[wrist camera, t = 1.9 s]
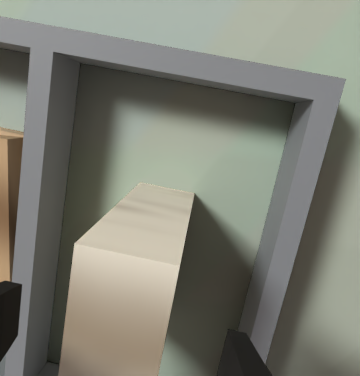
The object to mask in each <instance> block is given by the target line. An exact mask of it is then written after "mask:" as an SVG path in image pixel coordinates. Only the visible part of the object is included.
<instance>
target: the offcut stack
mask: <svg viewBox="0 0 360 376" xmlns="http://www.w3.org/2000/svg"><path fill="white" fill-rule="evenodd" d="M23 136H24V132H20V131H16V130H11V129H6V128H2V127H0V282H2V281H10V282H12V273H13V261H14V248H15V236H16V223H17V211H18V198H19V186H20V173H21V161H22V148H23Z"/></svg>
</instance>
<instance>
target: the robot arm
mask: <svg viewBox="0 0 360 376" xmlns="http://www.w3.org/2000/svg"><path fill="white" fill-rule="evenodd" d="M21 294H22V284H19V283H14V282H10V281H2V282H0V362H1V360H2V359H3V357H4V356H5V355H6V353H7V352H8V350H9V349H10V347H11V346H12V344H13V342H14V341H15V339H16V338H17V336H18V329H19V317H20V306H21ZM217 376H272V374H271V373H270V371H269V370H268V368H267V366H266V365H265V363H264V362H263V360H262V358H261V357H260V355H259V353H258V352H257V350H256V348H255V347H254V345H253V343H252V342H251V340H250V338H249V337H248V335H247V333H244V332H240V331H235V330H230V329H228V332H227V336H226V340H225V344H224V348H223V352H222V356H221V360H220V364H219V368H218V372H217Z"/></svg>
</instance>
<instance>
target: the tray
mask: <svg viewBox="0 0 360 376" xmlns="http://www.w3.org/2000/svg"><path fill="white" fill-rule="evenodd" d="M0 48H3V49H8V50H14V51H19V52H24V53H30V61H29V73H28V86H27V98H26V111H25V123H24V136H23V148H22V161H21V173H20V186H19V198H18V211H17V223H16V236H15V248H14V261H13V273H12V282H14V283H19V284H22V294H21V306H20V317H19V329H18V336H17V338H16V339H15V341H14V342H13V344H12V346H11V347H10V349H9V350H8V352H7V353H6V355H5V356H4V357H3V359H2V360H1V362H0V376H58V373H59V364H55V363H50V362H47V355H48V346H49V338H50V329H51V320H52V311H53V302H54V293H55V284H56V275H57V266H58V257H59V248H60V239H61V231H62V222H63V213H64V204H65V195H66V186H67V177H68V168H69V159H70V150H71V141H72V132H73V124H74V115H75V106H76V97H77V88H78V79H79V70H80V63H84V64H89V65H94V66H100V67H105V68H110V69H116V70H121V71H127V72H132V73H137V74H143V75H148V76H153V77H159V78H164V79H170V80H175V81H180V82H186V83H191V84H197V85H202V86H207V87H213V88H218V89H223V90H229V91H234V92H240V93H245V94H250V95H256V96H261V97H266V98H272V99H277V100H283V101H288V102H293V103H295V107H294V111H293V115H292V119H291V123H290V127H289V131H288V135H287V139H286V143H285V147H284V151H283V155H282V158H281V162H280V166H279V170H278V174H277V178H276V182H275V186H274V190H273V194H272V198H271V202H270V206H269V209H268V213H267V217H266V221H265V225H264V229H263V233H262V237H261V241H260V245H259V249H258V253H257V257H256V261H255V264H254V268H253V272H252V276H251V280H250V284H249V288H248V292H247V296H246V300H245V304H244V308H243V312H242V315H241V319H240V323H239V327H238V331H240V332H244V333H247V335H248V337H249V338H250V340H251V342H252V343H253V345H254V347H255V348H256V350H257V352H258V353H259V355H260V357H261V358H262V360H263V362H264V363H266V360H267V356H268V353H269V349H270V346H271V342H272V339H273V335H274V331H275V328H276V324H277V321H278V317H279V314H280V310H281V307H282V303H283V300H284V296H285V293H286V289H287V286H288V282H289V278H290V275H291V271H292V268H293V264H294V261H295V257H296V254H297V250H298V247H299V243H300V240H301V236H302V233H303V229H304V225H305V222H306V218H307V215H308V211H309V208H310V204H311V201H312V197H313V194H314V190H315V187H316V183H317V180H318V176H319V172H320V169H321V165H322V162H323V158H324V155H325V151H326V148H327V144H328V141H329V137H330V134H331V130H332V126H333V123H334V119H335V116H336V112H337V109H338V105H339V102H340V98H341V95H342V91H343V88H344V84H345V81H346V79H343V78H338V77H332V76H327V75H321V74H316V73H310V72H305V71H299V70H294V69H288V68H283V67H277V66H272V65H266V64H261V63H255V62H250V61H244V60H239V59H233V58H227V57H222V56H216V55H211V54H205V53H200V52H194V51H189V50H183V49H178V48H172V47H167V46H161V45H156V44H150V43H145V42H139V41H134V40H128V39H123V38H117V37H112V36H106V35H101V34H95V33H90V32H84V31H79V30H73V29H68V28H62V27H56V26H51V25H45V24H40V23H34V22H29V21H23V20H18V19H12V18H7V17H1V16H0Z"/></svg>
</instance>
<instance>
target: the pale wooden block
mask: <svg viewBox="0 0 360 376" xmlns="http://www.w3.org/2000/svg"><path fill="white" fill-rule="evenodd" d="M194 194H195V193H191V192H186V191H181V190H176V189H171V188H166V187H162V186H157V185H152V184H147V183H142V182H140V183H139V184H138V185H137V186H136V187H135V188H133V189H132V190H131V191H130V192H129V193H128V194H127V195H126V196H125V197H124V198H123V199H122V200H121V201H119V202H118V203H117V204H116V205H115V206H114V207H113V208H112V209H111V210H110V211H109V212H108V213H107V214H106V215H104V216H103V217H102V218H101V219H100V220H99V221H98V222H97V223H96V224H95V225H94V226H93V227H92V228H91V229H89V230H88V231H87V232H86V233H85V234H84V235H83V236H82V237H81V238H80V239H79V240H78V241H77V242H75V243H74V251H73V259H72V267H71V275H70V284H69V292H68V300H67V308H66V316H65V324H64V333H63V341H62V349H61V357H60V365H59V373H58V376H158V373H159V368H160V363H161V358H162V353H163V348H164V343H165V338H166V333H167V328H168V323H169V318H170V313H171V308H172V304H173V299H174V294H175V289H176V284H177V279H178V274H179V269H180V264H181V259H182V254H183V249H184V244H185V239H186V234H187V229H188V224H189V219H190V214H191V209H192V204H193V199H194Z"/></svg>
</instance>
